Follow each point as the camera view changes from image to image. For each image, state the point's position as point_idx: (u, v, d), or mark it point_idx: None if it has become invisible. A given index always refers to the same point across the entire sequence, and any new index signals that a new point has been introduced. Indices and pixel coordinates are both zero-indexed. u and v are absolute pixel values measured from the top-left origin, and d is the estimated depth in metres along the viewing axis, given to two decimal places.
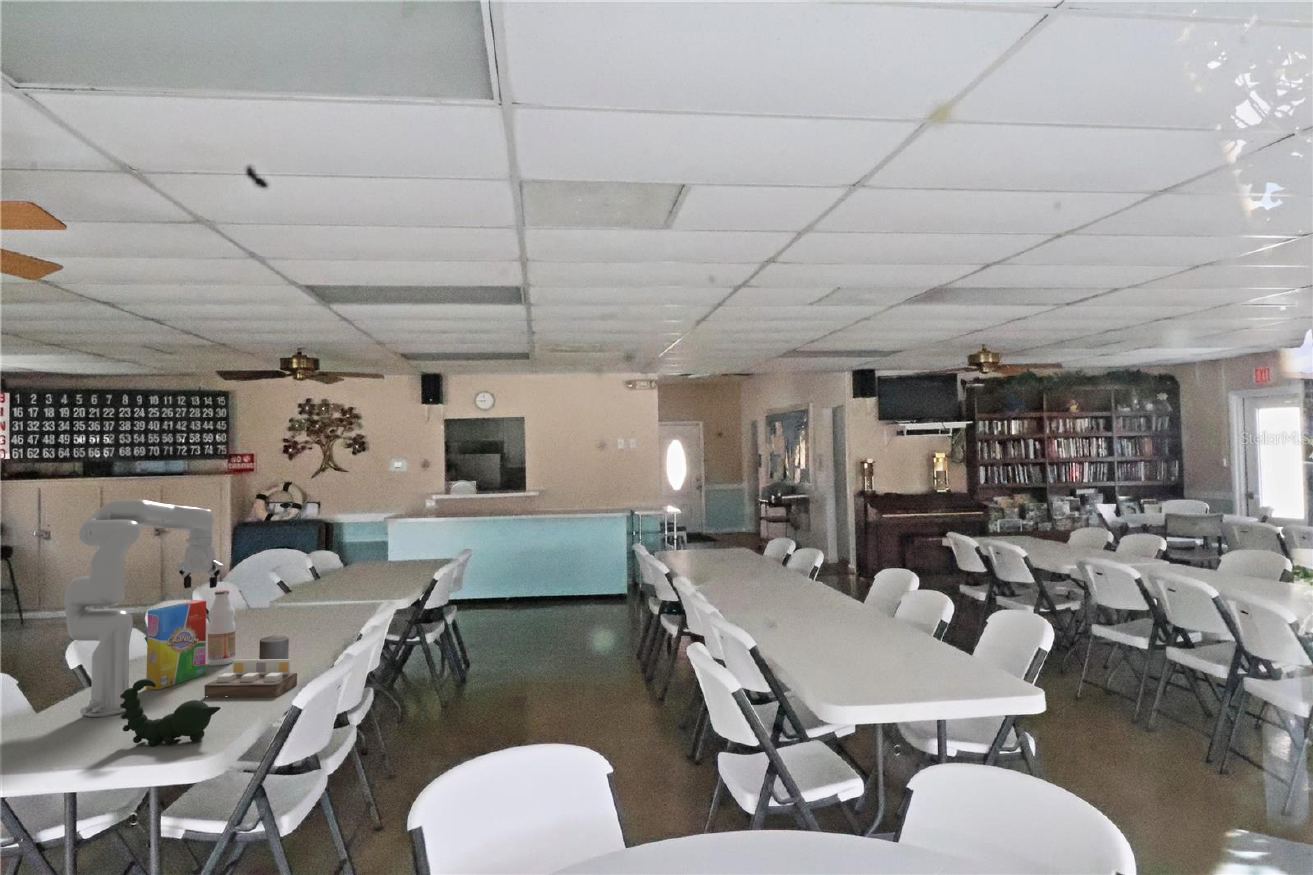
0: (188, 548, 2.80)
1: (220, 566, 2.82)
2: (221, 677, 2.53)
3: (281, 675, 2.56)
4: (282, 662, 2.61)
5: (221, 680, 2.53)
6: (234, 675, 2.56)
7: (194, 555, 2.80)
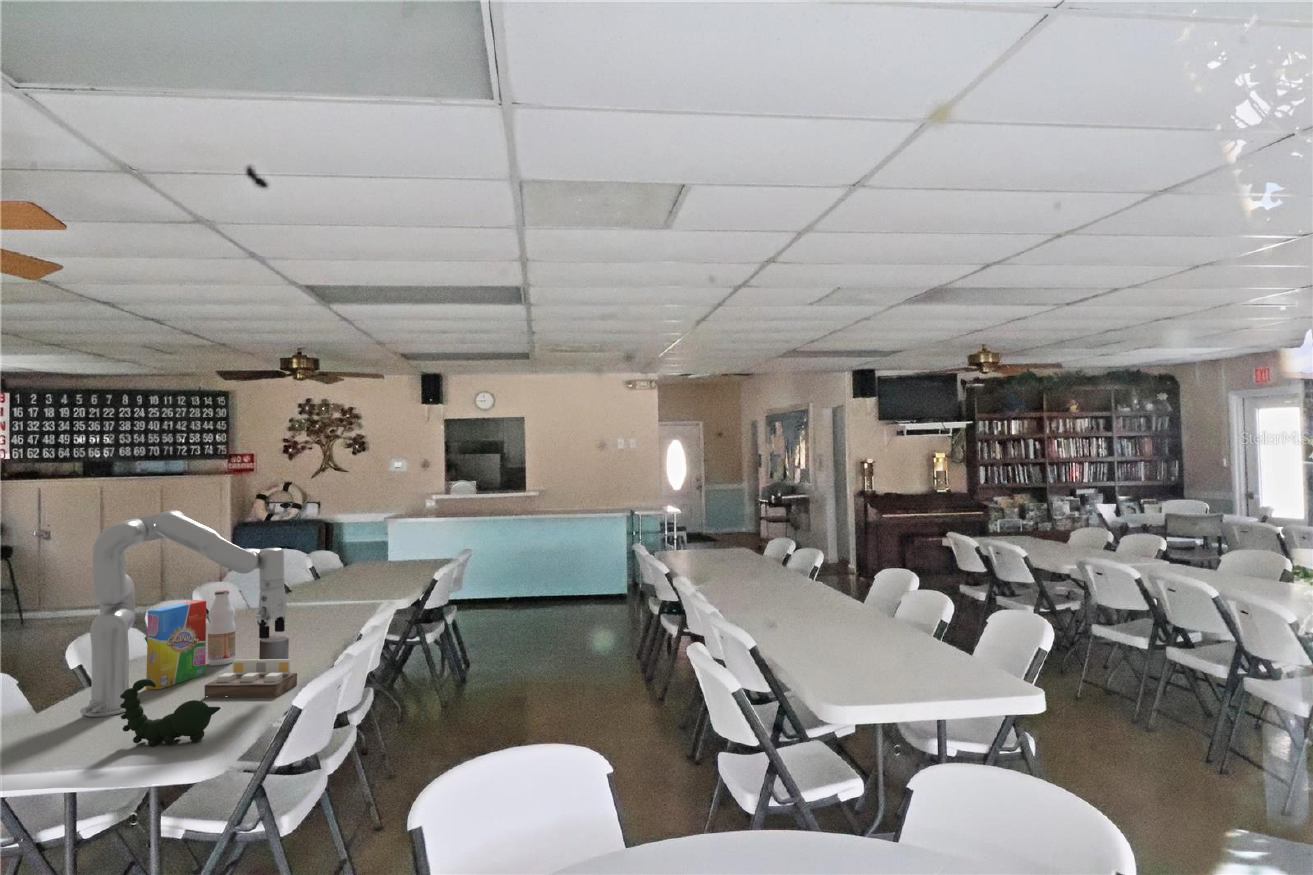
0: (274, 592, 2.53)
1: (285, 606, 2.64)
2: (221, 677, 2.53)
3: (281, 675, 2.56)
4: (282, 662, 2.61)
5: (221, 680, 2.53)
6: (234, 675, 2.56)
7: (279, 598, 2.56)
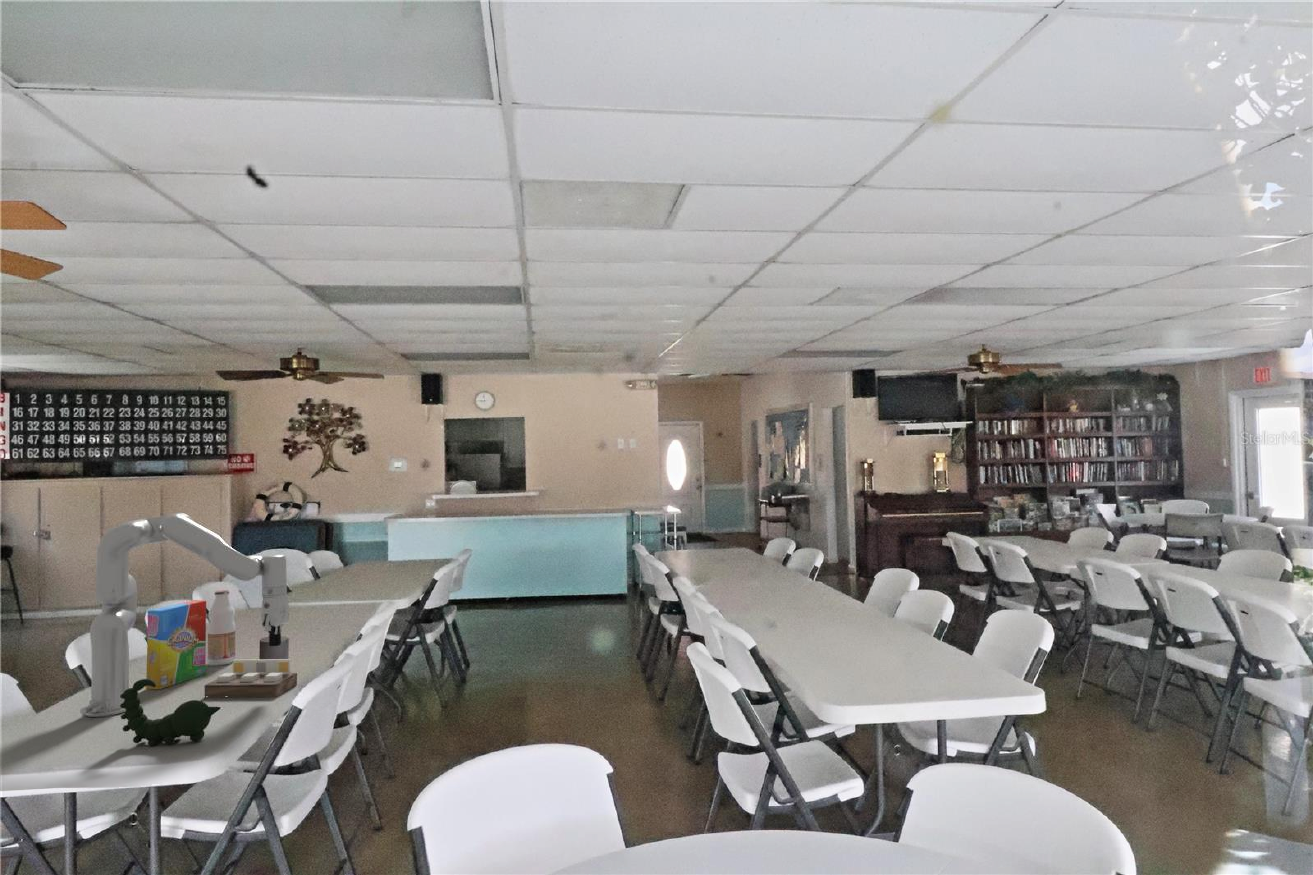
0: (276, 599, 2.53)
1: (283, 622, 2.60)
2: (221, 677, 2.53)
3: (281, 675, 2.56)
4: (282, 662, 2.61)
5: (221, 680, 2.53)
6: (234, 675, 2.56)
7: (281, 605, 2.55)
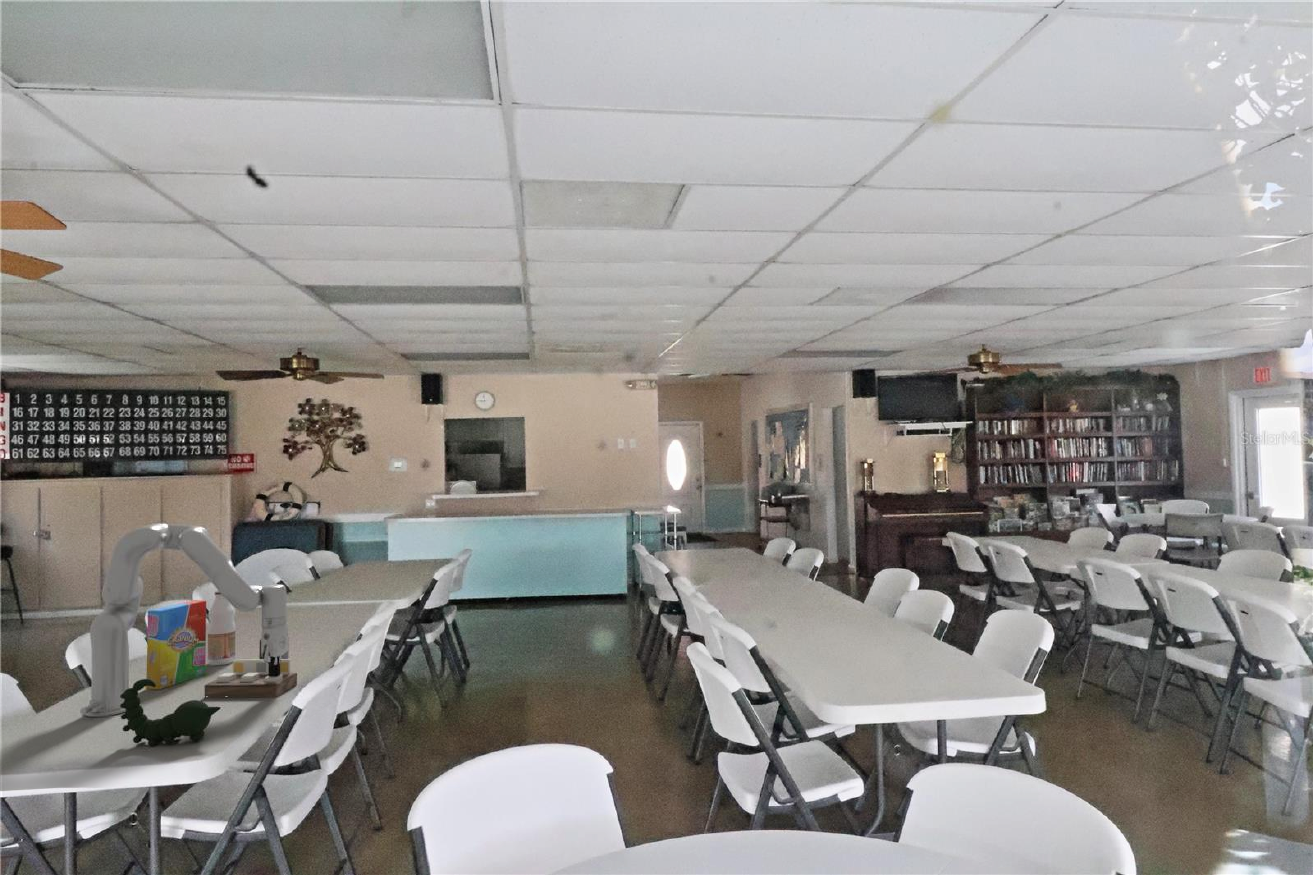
0: (276, 629, 2.52)
1: None
2: (221, 677, 2.53)
3: (281, 677, 2.56)
4: (282, 662, 2.61)
5: (221, 680, 2.53)
6: (234, 675, 2.56)
7: (281, 635, 2.55)
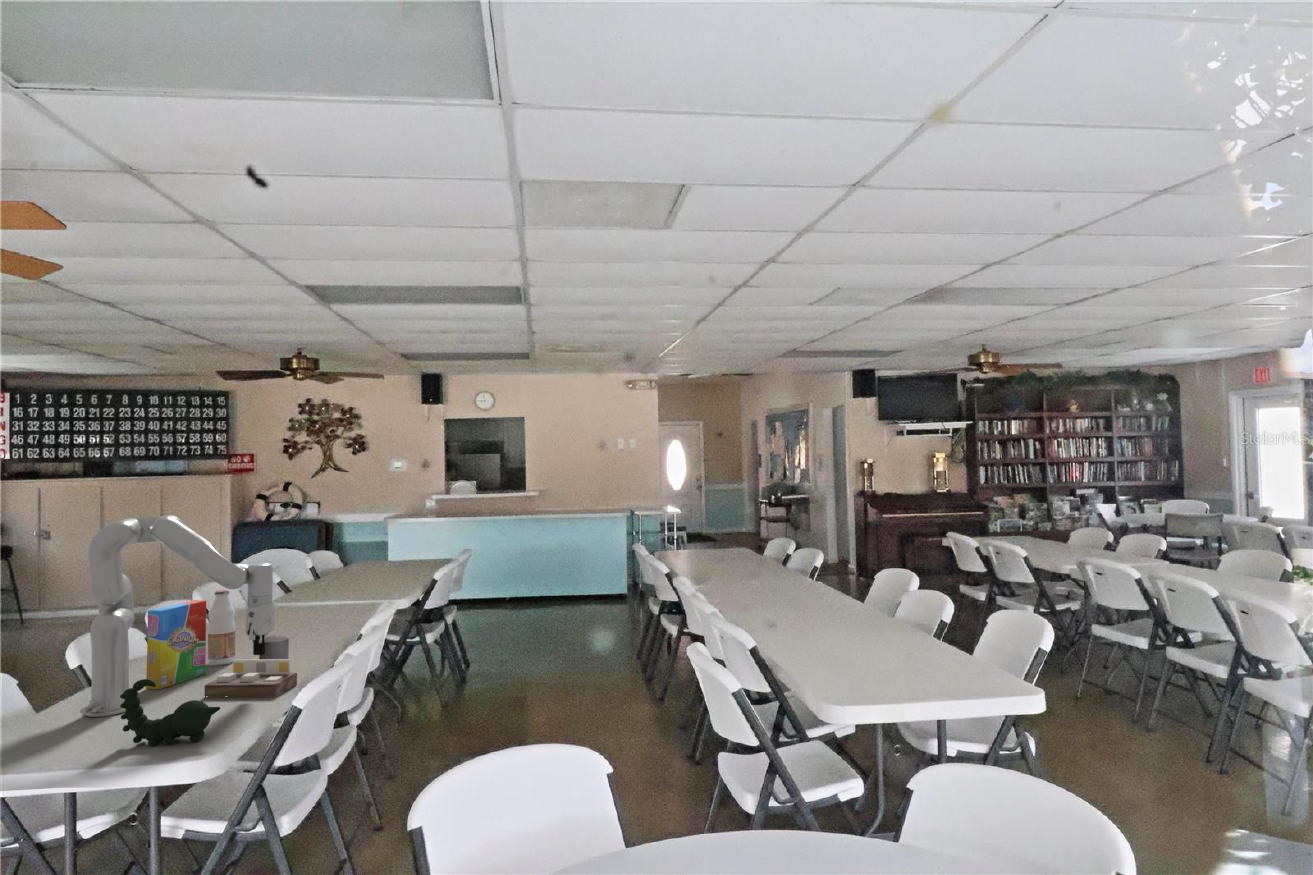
0: (262, 608, 2.52)
1: (268, 631, 2.60)
2: (221, 677, 2.53)
3: None
4: (282, 662, 2.61)
5: (221, 680, 2.53)
6: (234, 675, 2.56)
7: (266, 614, 2.55)
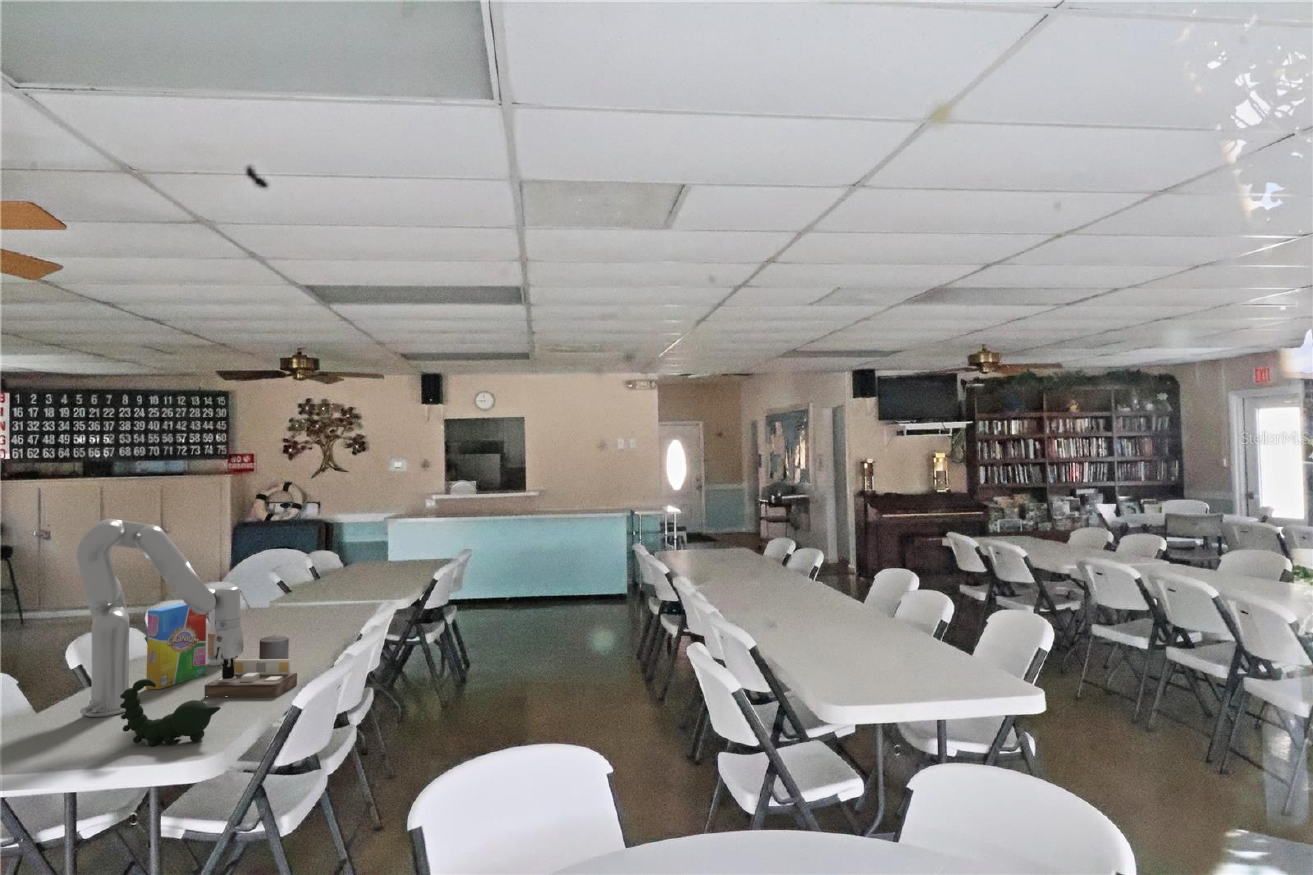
0: (229, 631, 2.53)
1: (237, 654, 2.60)
2: (221, 680, 2.53)
3: None
4: (282, 662, 2.61)
5: None
6: (234, 679, 2.56)
7: (235, 637, 2.55)
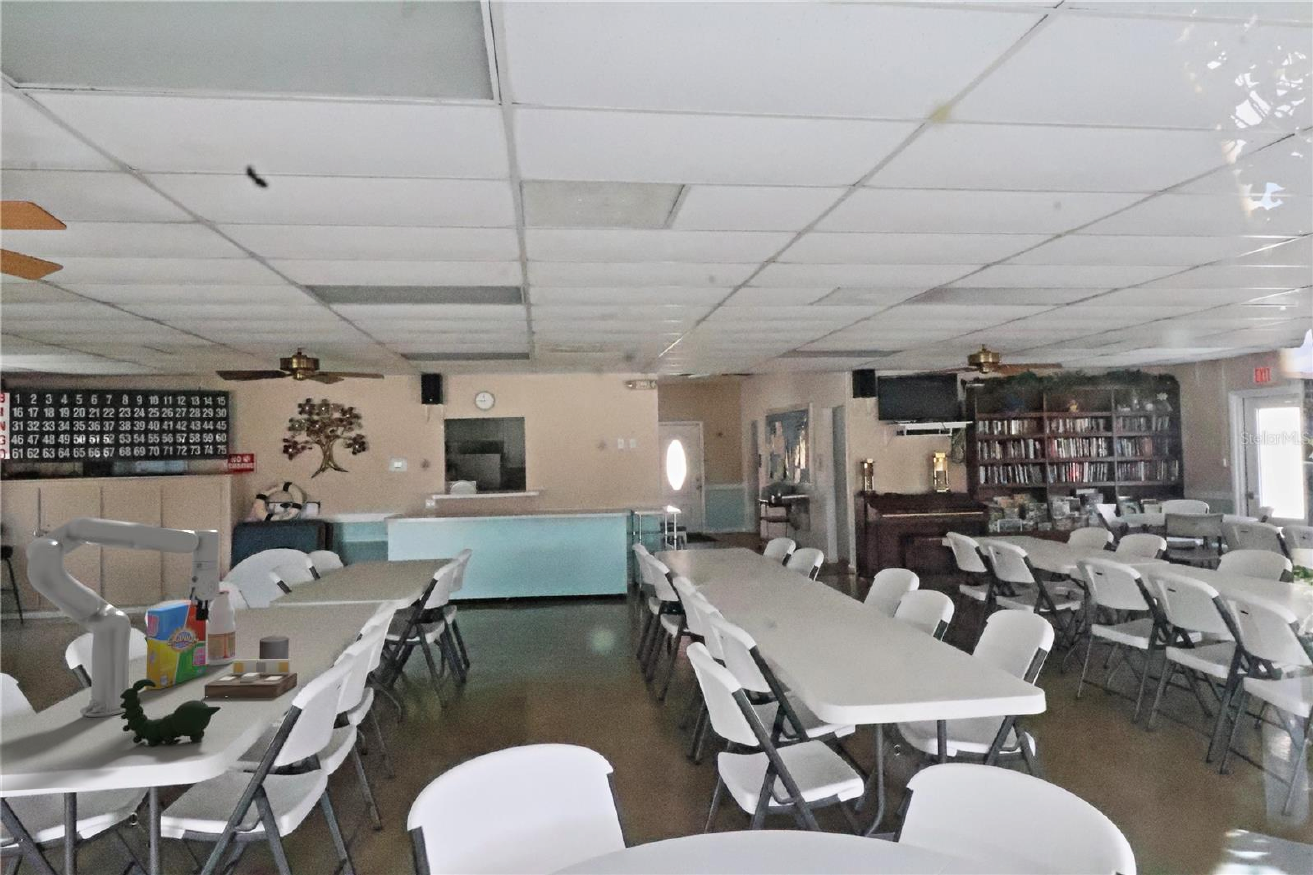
0: (205, 573, 2.54)
1: (213, 598, 2.61)
2: (221, 681, 2.53)
3: None
4: (282, 662, 2.61)
5: None
6: (234, 679, 2.56)
7: (211, 580, 2.56)
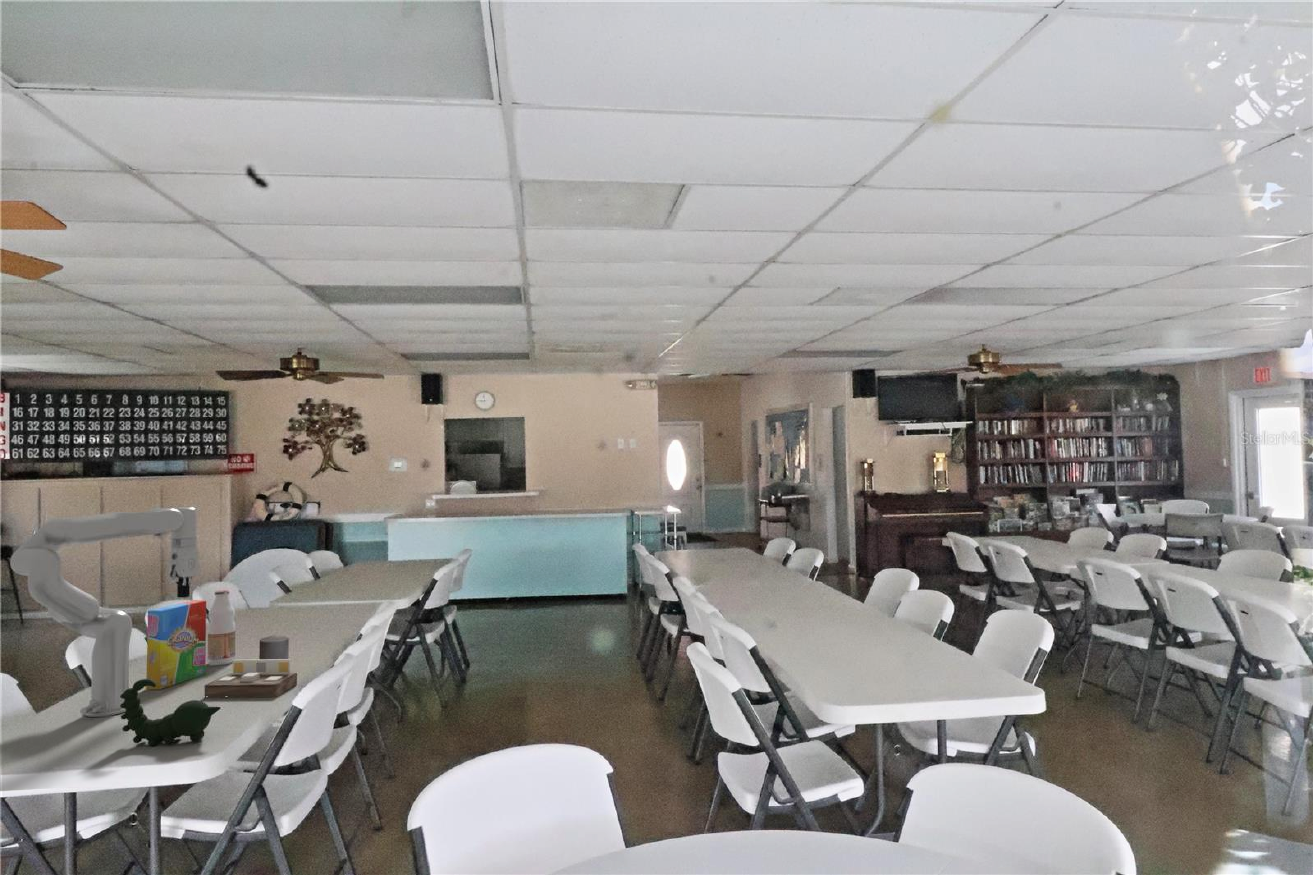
0: (185, 550, 2.55)
1: (193, 575, 2.62)
2: (221, 681, 2.53)
3: None
4: (282, 662, 2.61)
5: None
6: (234, 679, 2.56)
7: (190, 557, 2.57)
